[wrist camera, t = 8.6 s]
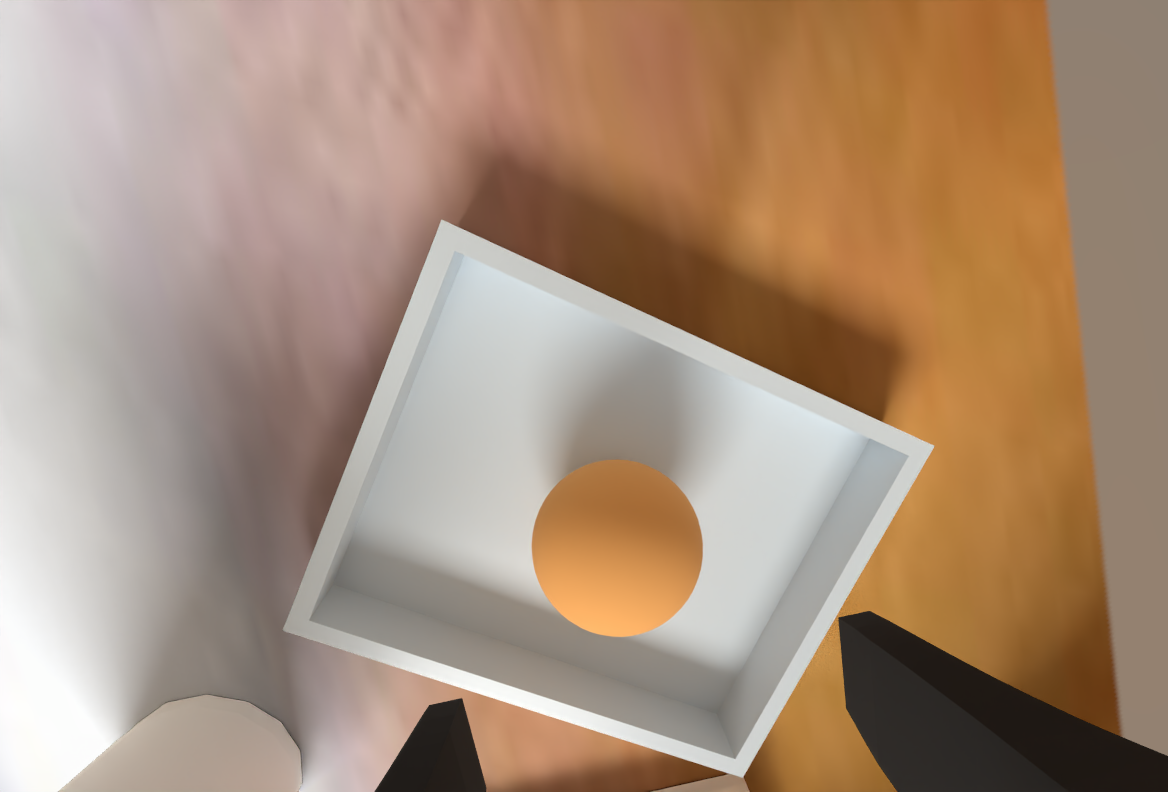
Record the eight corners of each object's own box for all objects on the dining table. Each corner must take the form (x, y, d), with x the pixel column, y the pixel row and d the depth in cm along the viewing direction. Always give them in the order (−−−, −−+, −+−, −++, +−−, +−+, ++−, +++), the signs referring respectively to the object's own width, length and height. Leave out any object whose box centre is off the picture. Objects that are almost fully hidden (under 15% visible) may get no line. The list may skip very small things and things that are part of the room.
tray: (882, 424, 19) (934, 446, 17) (718, 718, 21) (742, 777, 19) (456, 228, 17) (441, 219, 14) (316, 583, 19) (282, 630, 16)
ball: (701, 472, 19) (762, 538, 14) (639, 596, 19) (676, 701, 14) (568, 416, 18) (582, 466, 13) (507, 548, 19) (500, 643, 14)
